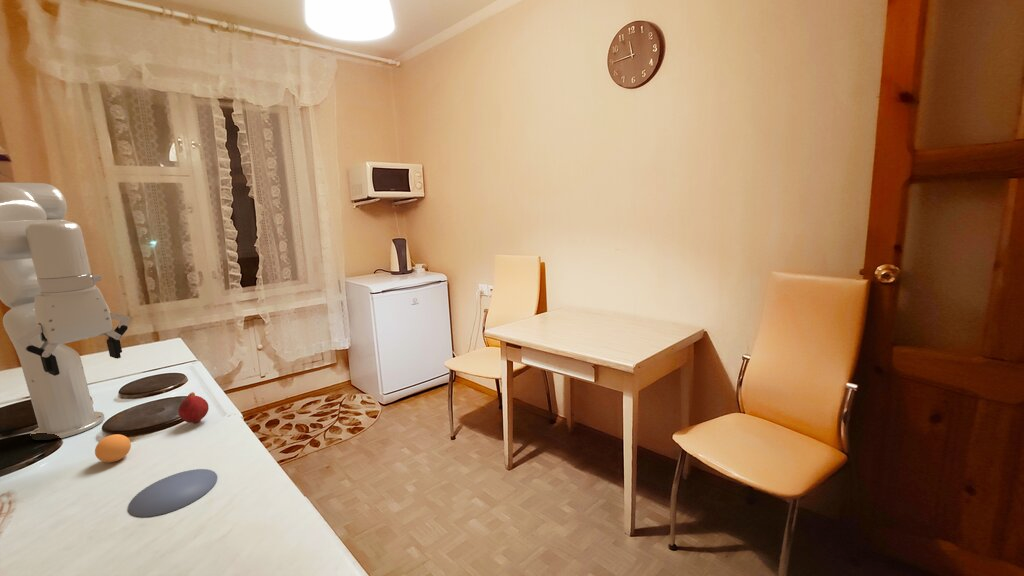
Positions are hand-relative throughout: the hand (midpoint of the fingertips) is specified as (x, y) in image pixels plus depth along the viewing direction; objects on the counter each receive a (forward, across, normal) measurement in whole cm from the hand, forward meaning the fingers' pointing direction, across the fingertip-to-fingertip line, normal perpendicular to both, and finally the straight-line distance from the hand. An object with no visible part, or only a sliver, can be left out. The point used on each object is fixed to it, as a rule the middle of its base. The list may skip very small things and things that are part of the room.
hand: (86, 365), depth 88 cm
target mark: (+19, +1, +29) cm, 35 cm away
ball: (+17, 0, +5) cm, 18 cm away
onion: (+20, -16, +4) cm, 26 cm away
